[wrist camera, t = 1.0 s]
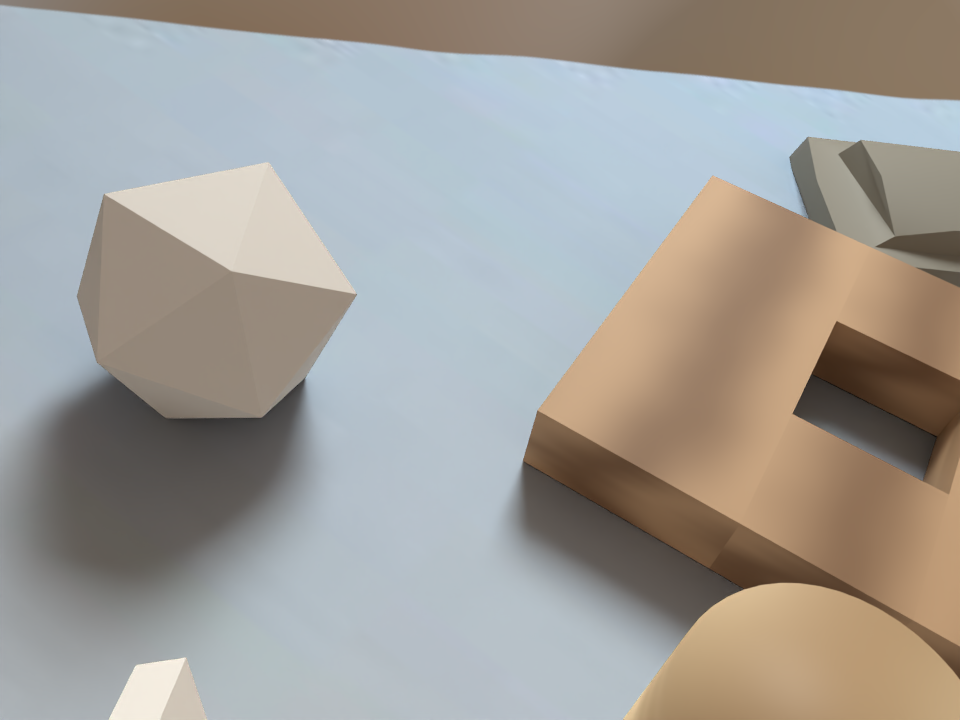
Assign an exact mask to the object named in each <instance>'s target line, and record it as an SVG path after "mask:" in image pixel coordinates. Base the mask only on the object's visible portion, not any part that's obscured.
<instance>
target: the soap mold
mask: <svg viewBox="0 0 960 720" xmlns="http://www.w3.org/2000/svg"><path fill="white" fill-rule="evenodd" d="M790 163H791V168H792V171H793V174H794V176H795V179H796V182H797V185H798V187H799V190H800V193H801V196H802V199H803V202H804V205H805V208H806V211H807V214H808V217H809V219H810V220H812V221H814V222H816V223H818V224H821V225H823V226H825V227H827V228H829V229H832V230H834V231H836V232H838V233H840V234H843V235H845V236H847V237H849V238H852V239H854V240H856V241H858V242H860V243H863V244H865V245H867V246H869V247H871V248H874V249H876V250H878V251H880V252H882V253H885V254H887V255H889V256H891V257H893V258H896V259H898V260H900V261H902V262H904V263H907V264H909V265H911V266H913V267H915V268H918V269H920V270H922V271H924V272H926V273H929V274H931V275H933V276H935V277H937V278H940V279H942V280H944V281H946V282H949V283H951V284H953V285H955V286H957V287H960V152H957V151H948V150H940V149H932V148H923V147H915V146H907V145H898V144H890V143H882V142H873V141H865V140H860V141H858V142H857V143H856V142H848V141H839V140H831V139H822V138H813V137H807V138H806V140H805V141H804V142H803V143H802V144H801V145H800V146H799V147H798V148H797V149H796V150H795V151H794V153H793V154H792V155H791V156H790Z"/></svg>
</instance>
